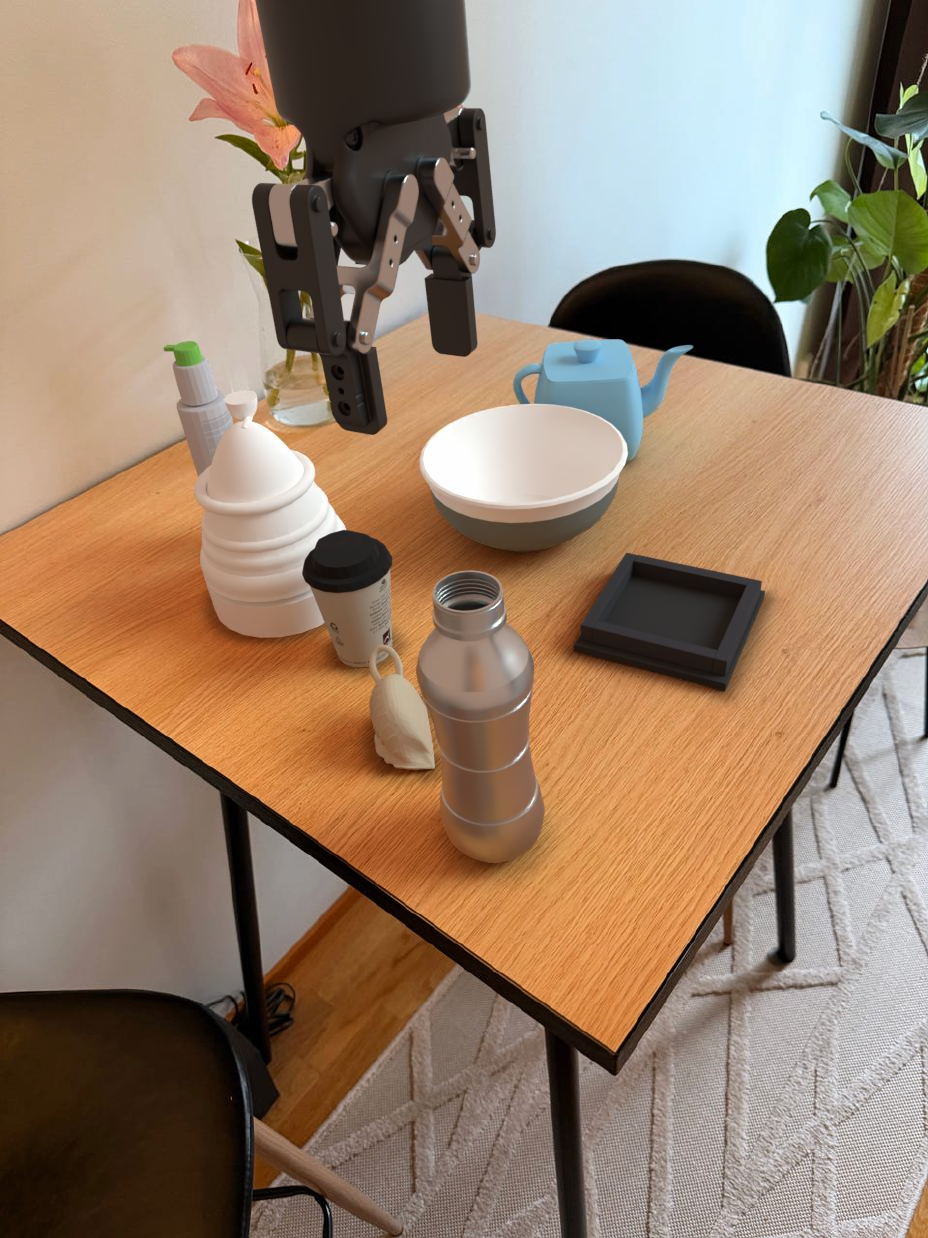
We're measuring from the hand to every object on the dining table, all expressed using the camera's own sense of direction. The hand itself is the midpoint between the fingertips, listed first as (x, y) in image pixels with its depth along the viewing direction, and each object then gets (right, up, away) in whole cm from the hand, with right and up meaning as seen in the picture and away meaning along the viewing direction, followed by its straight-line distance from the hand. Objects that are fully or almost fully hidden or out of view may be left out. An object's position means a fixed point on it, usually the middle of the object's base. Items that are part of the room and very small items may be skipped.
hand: (412, 388), depth 42 cm
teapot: (+17, +8, +55) cm, 58 cm away
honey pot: (-14, -8, +40) cm, 43 cm away
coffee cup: (-6, -13, +33) cm, 36 cm away
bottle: (-19, -3, +47) cm, 51 cm away
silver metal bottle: (+4, -25, +17) cm, 30 cm away
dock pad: (+19, -11, +31) cm, 38 cm away
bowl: (+8, -2, +44) cm, 45 cm away
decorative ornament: (-2, -19, +25) cm, 31 cm away
